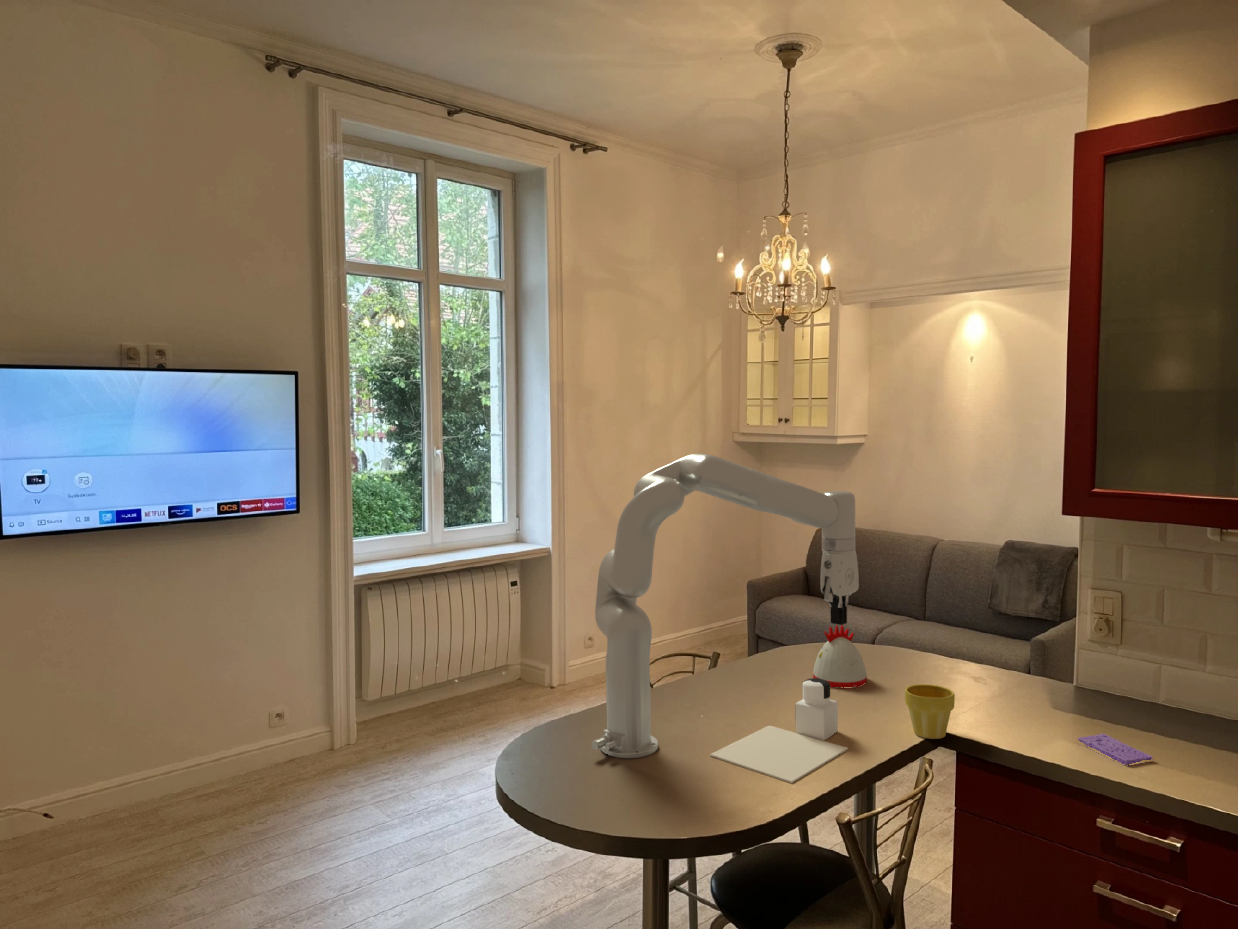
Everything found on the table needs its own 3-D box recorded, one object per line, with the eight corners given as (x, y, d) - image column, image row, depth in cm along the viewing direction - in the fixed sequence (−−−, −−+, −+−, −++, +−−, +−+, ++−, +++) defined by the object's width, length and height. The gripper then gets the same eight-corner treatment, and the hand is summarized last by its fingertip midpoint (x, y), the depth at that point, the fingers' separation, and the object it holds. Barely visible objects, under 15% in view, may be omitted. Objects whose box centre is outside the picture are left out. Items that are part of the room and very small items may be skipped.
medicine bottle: (809, 724, 195) (809, 673, 195) (838, 731, 191) (838, 679, 190) (794, 734, 190) (794, 681, 189) (824, 741, 185) (823, 688, 185)
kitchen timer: (805, 674, 233) (804, 620, 232) (851, 670, 236) (851, 617, 235) (826, 690, 219) (826, 633, 218) (875, 686, 222) (875, 630, 221)
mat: (791, 783, 165) (791, 781, 165) (710, 756, 179) (710, 754, 179) (848, 749, 181) (848, 748, 181) (769, 727, 195) (769, 725, 194)
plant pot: (910, 722, 196) (910, 680, 195) (957, 730, 191) (958, 687, 190) (900, 737, 187) (900, 694, 186) (949, 746, 182) (949, 701, 181)
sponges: (1103, 742, 184) (1103, 733, 184) (1153, 765, 172) (1153, 756, 171) (1076, 745, 182) (1077, 737, 182) (1125, 769, 170) (1125, 760, 170)
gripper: (836, 550, 187) (836, 632, 188) (869, 542, 198) (869, 619, 199) (806, 547, 192) (807, 627, 193) (840, 539, 203) (840, 615, 204)
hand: (838, 623), depth 196 cm, fingers closed
